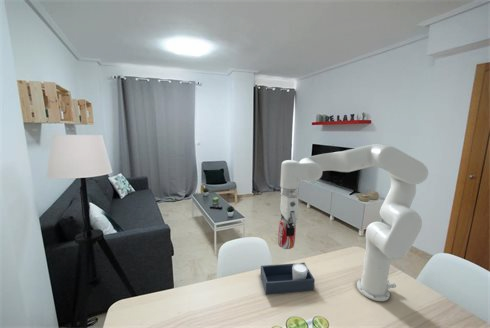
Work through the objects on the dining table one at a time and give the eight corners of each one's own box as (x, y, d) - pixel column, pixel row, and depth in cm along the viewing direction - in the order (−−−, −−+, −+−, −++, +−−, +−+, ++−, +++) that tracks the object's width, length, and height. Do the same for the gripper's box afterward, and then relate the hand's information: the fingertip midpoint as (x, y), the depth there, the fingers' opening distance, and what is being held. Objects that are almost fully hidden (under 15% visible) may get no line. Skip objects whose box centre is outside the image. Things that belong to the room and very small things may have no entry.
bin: (303, 272, 109) (304, 262, 108) (313, 290, 98) (314, 279, 97) (260, 276, 106) (260, 265, 105) (265, 294, 95) (266, 283, 94)
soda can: (274, 243, 97) (275, 218, 95) (288, 240, 100) (289, 215, 97) (283, 252, 91) (285, 225, 88) (297, 248, 93) (299, 222, 91)
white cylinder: (306, 288, 98) (308, 274, 97) (291, 285, 100) (292, 271, 98) (306, 277, 105) (307, 264, 103) (291, 274, 106) (292, 261, 105)
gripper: (306, 198, 82) (303, 241, 86) (291, 184, 99) (288, 221, 103) (287, 198, 81) (284, 242, 85) (274, 184, 98) (273, 221, 102)
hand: (286, 230), depth 94 cm, fingers closed on soda can, 7 cm apart
